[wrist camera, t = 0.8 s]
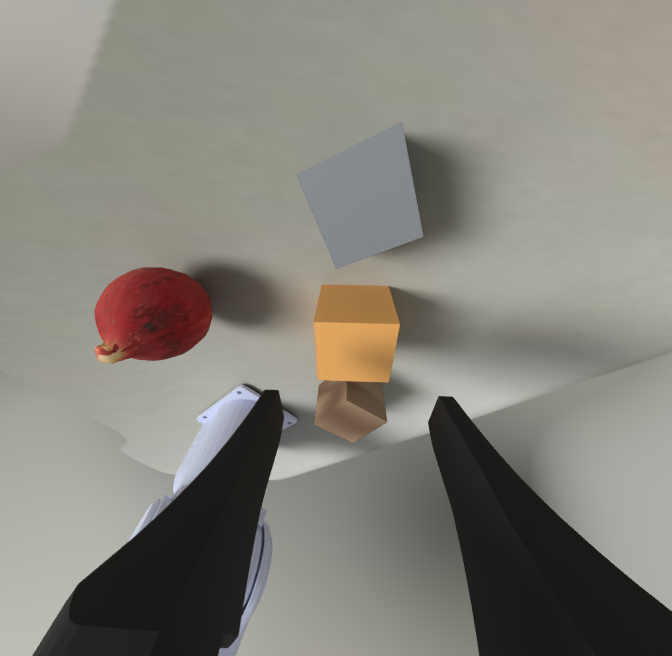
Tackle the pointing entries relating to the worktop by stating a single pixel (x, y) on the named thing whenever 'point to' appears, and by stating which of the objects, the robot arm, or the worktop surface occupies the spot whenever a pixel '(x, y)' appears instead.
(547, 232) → the worktop surface
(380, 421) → the walnut block
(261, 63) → the worktop surface
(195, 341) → the onion
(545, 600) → the robot arm
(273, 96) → the worktop surface
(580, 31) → the worktop surface
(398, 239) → the slate block
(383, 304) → the orange block
